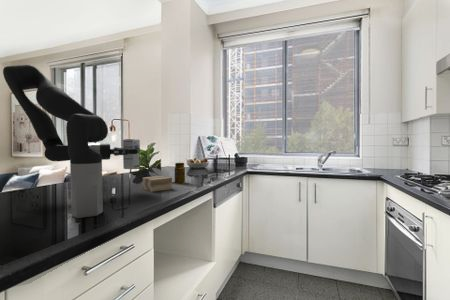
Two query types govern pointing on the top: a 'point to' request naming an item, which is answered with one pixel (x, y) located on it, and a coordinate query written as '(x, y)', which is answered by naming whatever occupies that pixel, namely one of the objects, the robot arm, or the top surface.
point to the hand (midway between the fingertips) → (135, 151)
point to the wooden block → (157, 183)
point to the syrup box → (131, 159)
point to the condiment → (179, 173)
